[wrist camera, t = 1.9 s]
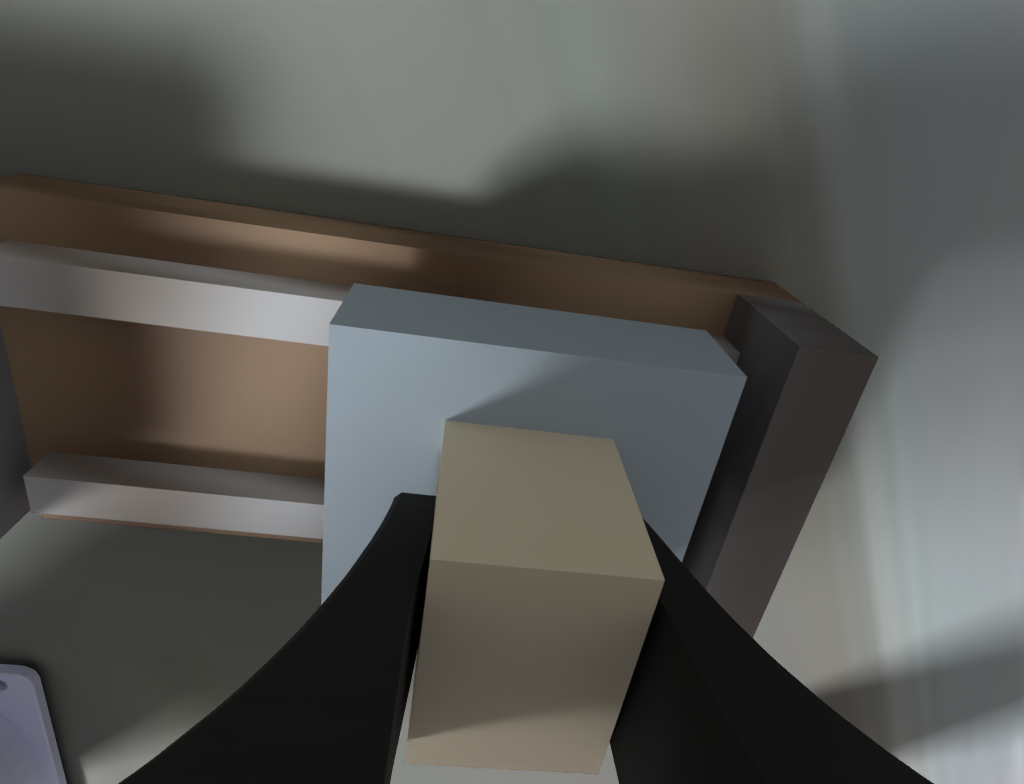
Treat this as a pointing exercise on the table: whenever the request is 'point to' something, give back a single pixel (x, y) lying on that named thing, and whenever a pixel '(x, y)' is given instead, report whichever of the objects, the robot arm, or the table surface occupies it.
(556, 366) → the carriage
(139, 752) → the table surface
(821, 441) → the rail track
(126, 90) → the table surface
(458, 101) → the table surface
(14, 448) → the cabinet
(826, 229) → the table surface
